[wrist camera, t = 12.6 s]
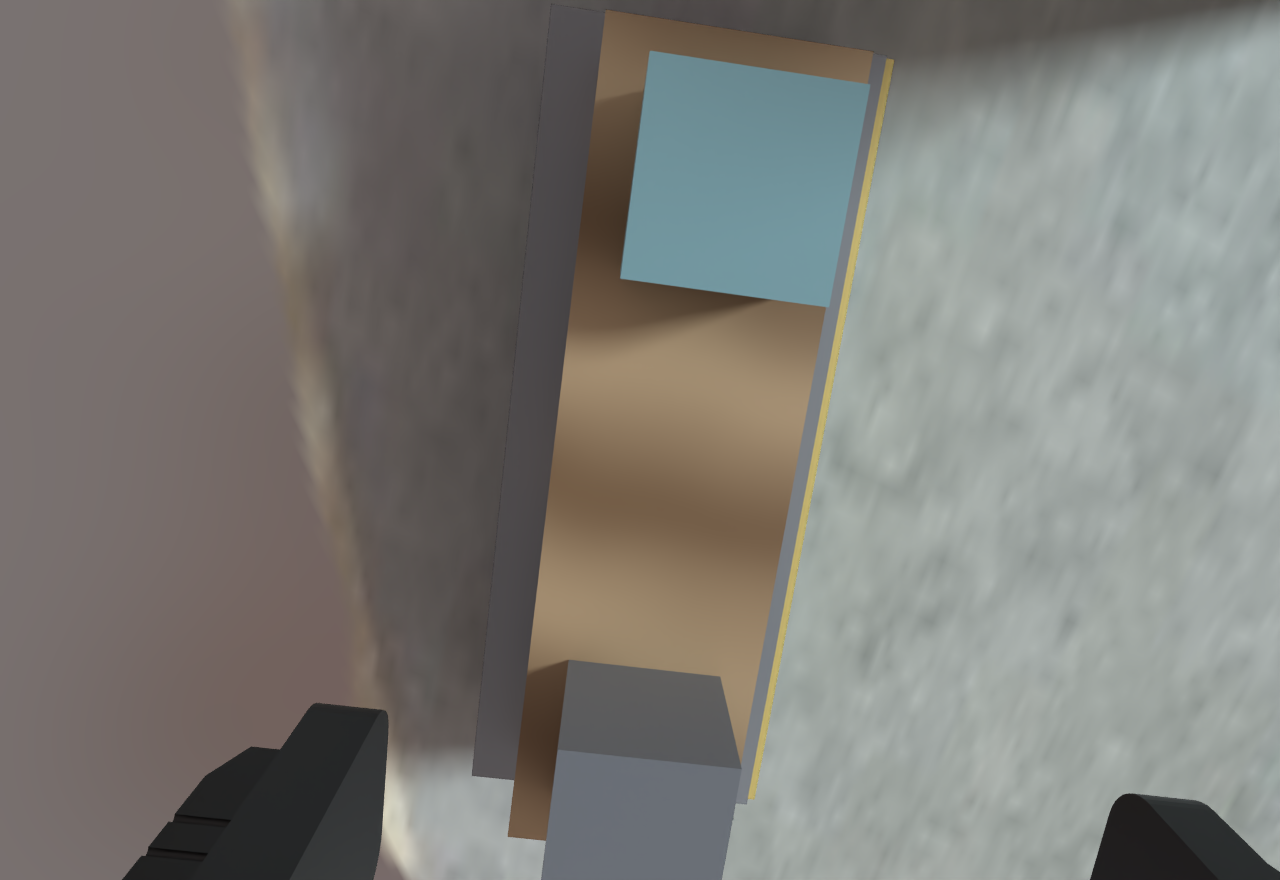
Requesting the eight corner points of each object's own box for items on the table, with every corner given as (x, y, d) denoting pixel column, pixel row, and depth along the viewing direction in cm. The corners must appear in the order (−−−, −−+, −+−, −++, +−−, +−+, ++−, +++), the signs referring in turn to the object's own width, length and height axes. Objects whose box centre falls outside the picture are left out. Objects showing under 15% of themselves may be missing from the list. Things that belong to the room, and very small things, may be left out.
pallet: (607, 50, 22) (605, 9, 18) (829, 84, 23) (873, 51, 19) (523, 751, 27) (507, 836, 23) (708, 770, 27) (723, 858, 23)
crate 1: (720, 676, 22) (741, 768, 18) (697, 809, 23) (713, 924, 19) (568, 659, 22) (557, 750, 18) (551, 793, 23) (537, 907, 19)
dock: (848, 90, 27) (897, 57, 22) (735, 721, 32) (755, 805, 28) (563, 47, 27) (551, 3, 22) (494, 694, 32) (471, 775, 27)
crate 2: (819, 116, 19) (870, 84, 15) (788, 294, 20) (829, 307, 16) (643, 90, 19) (650, 50, 15) (619, 271, 20) (620, 278, 16)
